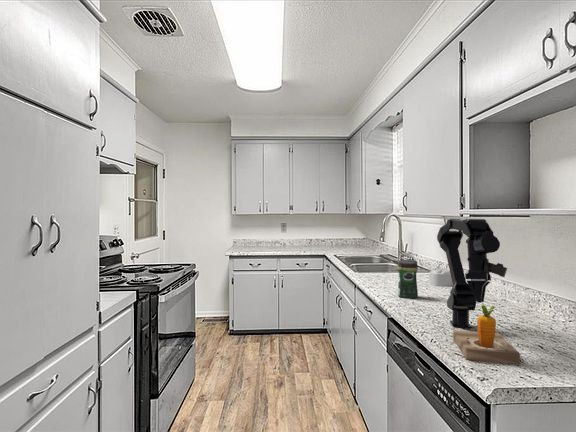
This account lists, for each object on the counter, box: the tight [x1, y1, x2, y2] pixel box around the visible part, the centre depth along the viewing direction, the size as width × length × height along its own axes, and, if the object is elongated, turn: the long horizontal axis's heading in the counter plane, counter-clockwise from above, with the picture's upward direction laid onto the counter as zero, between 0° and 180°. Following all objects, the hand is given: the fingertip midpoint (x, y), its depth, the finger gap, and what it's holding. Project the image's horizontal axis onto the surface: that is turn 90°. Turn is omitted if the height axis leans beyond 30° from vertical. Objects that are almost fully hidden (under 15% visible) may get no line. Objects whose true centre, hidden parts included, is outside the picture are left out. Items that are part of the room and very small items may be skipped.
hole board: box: [452, 329, 521, 365], centre depth 118 cm, size 18×14×3 cm
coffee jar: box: [397, 259, 419, 299], centre depth 190 cm, size 10×8×19 cm
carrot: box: [476, 303, 497, 348], centre depth 115 cm, size 5×5×15 cm
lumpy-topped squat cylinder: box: [428, 268, 453, 288], centre depth 222 cm, size 10×13×9 cm
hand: (480, 302), depth 127 cm, fingers open, 9 cm apart
